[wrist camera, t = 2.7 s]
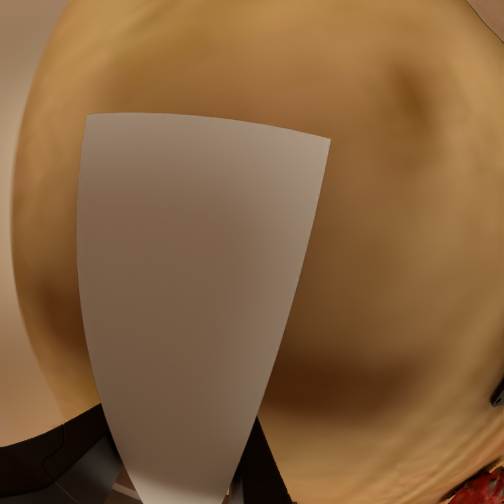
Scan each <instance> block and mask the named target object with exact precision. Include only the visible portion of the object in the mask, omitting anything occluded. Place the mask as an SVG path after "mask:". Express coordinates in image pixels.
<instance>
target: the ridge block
mask: <svg viewBox="0 0 504 504" xmlns="http://www.w3.org/2000/svg"><path fill="white" fill-rule="evenodd" d="M228 502H229V496H227V495H225V497H224V500H223V502H222V504H228ZM104 504H143V502H142V500H141V498H140V497H139V495H138V493H137V491H136V489H135V487H134V485H133V483H132V481H131V479H130V477H129V475H128V473H127V470H126V468H125V466H124V465H123V467H122V469H121V471H120V473H119V475H118V477H117V479H116V481H115V483H114V485H113V487H112V489H111V491H110V492H109V494H108V496H107V498H106V500H105V502H104ZM293 504H297V502H293Z"/></svg>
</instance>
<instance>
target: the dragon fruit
mask: <svg viewBox="0 0 504 504" xmlns="http://www.w3.org/2000/svg"><path fill="white" fill-rule="evenodd" d="M455 493H456V494H455ZM454 494H455V496H454V497H453V499H452V500H451V501H450V502H449V503H448V504H504V467H502V466H500V467H498V468H496V469H495V470H494V471H493V472H492V473H489V471H488V470H483V471H482V472H481V474H480V475H479V477H478V478H477V479H472V480H471V481H470V482H469V481H468V482H467V483H466V484H465V485H464V486H463V487H461V488H459V489H457V490H455V491H453V492H452V493H451V494H450V495H449V496H448V499H449V498H450V497H451V496H453V495H454Z"/></svg>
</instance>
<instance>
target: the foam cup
mask: <svg viewBox="0 0 504 504" xmlns="http://www.w3.org/2000/svg"><path fill="white" fill-rule="evenodd" d="M466 1H467V2H468V3H469V4H470V5H471V7H472V8H473V9H474V10H475V11H476V13H477V14H478V15H479V16H480V18H481V19H482V20H483V22H484V23H485V24H486V25H487V26H488V27H489V28H490V29H491V30H492V31H493V32H494V33H495V34H496V35H497V36H498V37H499V38H500V39H501V40H502V41H503V42H504V0H466Z"/></svg>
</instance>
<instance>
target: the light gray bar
mask: <svg viewBox="0 0 504 504" xmlns="http://www.w3.org/2000/svg"><path fill="white" fill-rule="evenodd" d="M330 141H331V139H328V138H325V137H321V136H317V135H312V134H308V133H304V132H299V131H295V130H290V129H285V128H280V127H275V126H269V125H264V124H258V123H252V122H245V121H239V120H231V119H224V118H215V117H206V116H195V115H182V114H165V113H97V114H88V115H87V121H86V126H85V132H84V138H83V144H82V151H81V159H80V168H79V178H78V191H77V212H76V250H77V271H78V284H79V294H80V303H81V311H82V319H83V325H84V331H85V337H86V343H87V348H88V353H89V358H90V362H91V367H92V371H93V375H94V379H95V383H96V387H97V390H98V394H99V397H100V401H101V404H102V407H103V411H104V414H105V417H106V420H107V423H108V426H109V429H110V431H111V434H112V437H113V439H114V442H115V445H116V447H117V450H118V452H119V454H120V457H121V459H122V461H123V464H124V466H125V468H126V470H127V473H128V475H129V477H130V479H131V481H132V483H133V485H134V487H135V489H136V491H137V493H138V495H139V497H140V498H141V500H142V502H143V504H222V502H223V500H224V497H225V495H226V493H227V490H228V488H229V486H230V483H231V481H232V478H233V476H234V473H235V471H236V468H237V466H238V463H239V461H240V458H241V456H242V453H243V451H244V448H245V445H246V443H247V440H248V437H249V435H250V432H251V429H252V427H253V424H254V421H255V418H256V416H257V413H258V410H259V407H260V404H261V401H262V398H263V395H264V393H265V390H266V387H267V384H268V381H269V378H270V375H271V371H272V368H273V365H274V362H275V359H276V356H277V353H278V349H279V346H280V343H281V340H282V336H283V333H284V330H285V326H286V323H287V320H288V316H289V313H290V309H291V306H292V302H293V299H294V295H295V291H296V288H297V284H298V280H299V277H300V273H301V269H302V265H303V262H304V258H305V254H306V250H307V246H308V242H309V238H310V234H311V229H312V225H313V221H314V217H315V212H316V208H317V204H318V199H319V195H320V190H321V186H322V181H323V176H324V171H325V166H326V161H327V156H328V151H329V146H330Z"/></svg>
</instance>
